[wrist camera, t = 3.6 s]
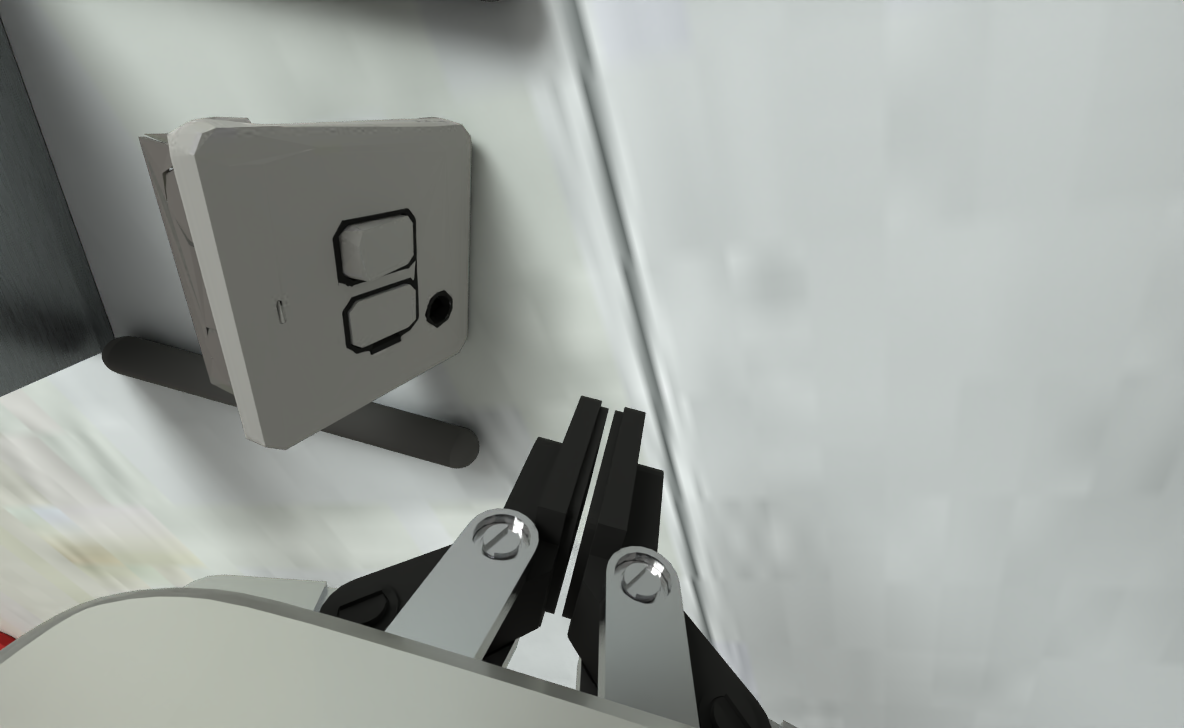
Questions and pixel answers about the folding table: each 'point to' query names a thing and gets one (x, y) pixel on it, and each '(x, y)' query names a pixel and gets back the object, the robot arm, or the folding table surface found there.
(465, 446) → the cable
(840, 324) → the folding table surface
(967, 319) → the folding table surface
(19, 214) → the panel
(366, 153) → the electrical switch
